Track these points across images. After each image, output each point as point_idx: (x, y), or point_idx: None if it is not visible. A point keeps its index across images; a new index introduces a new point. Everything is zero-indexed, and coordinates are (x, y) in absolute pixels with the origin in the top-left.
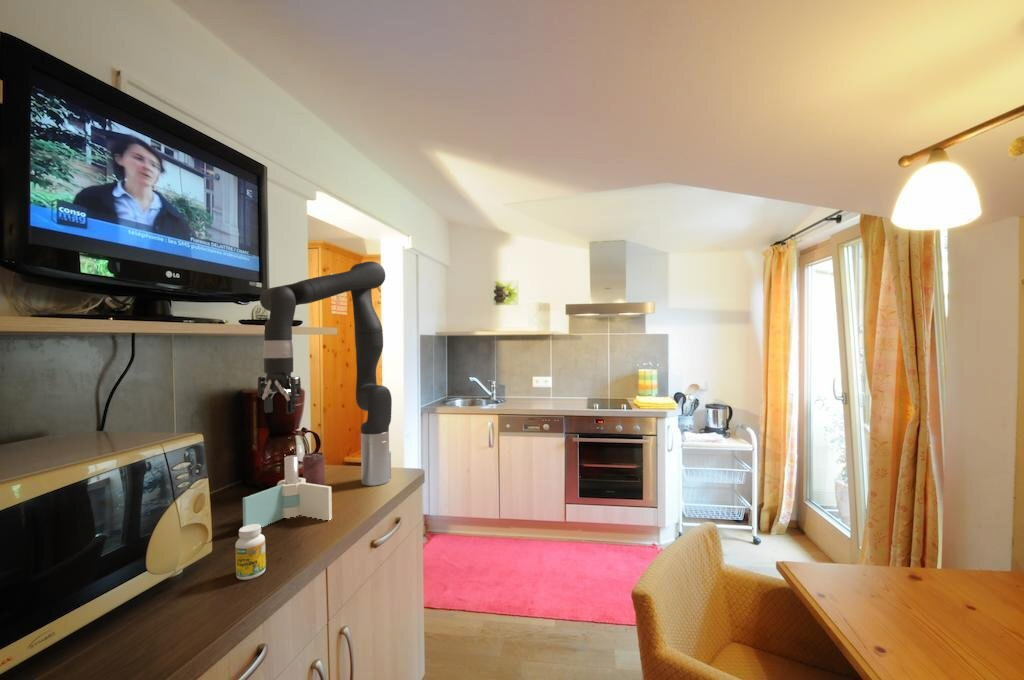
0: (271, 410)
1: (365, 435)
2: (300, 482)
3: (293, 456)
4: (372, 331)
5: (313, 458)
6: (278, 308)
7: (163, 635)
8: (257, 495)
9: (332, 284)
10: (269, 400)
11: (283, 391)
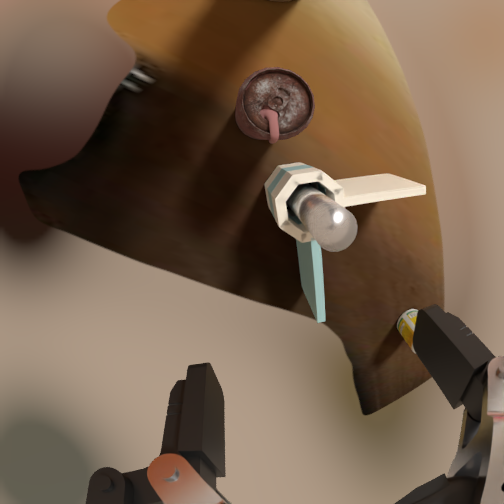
0: (211, 374)
1: None
2: (341, 200)
3: (339, 223)
4: None
5: (306, 122)
6: None
7: (410, 375)
8: (323, 297)
9: None
10: (213, 456)
11: (471, 475)
